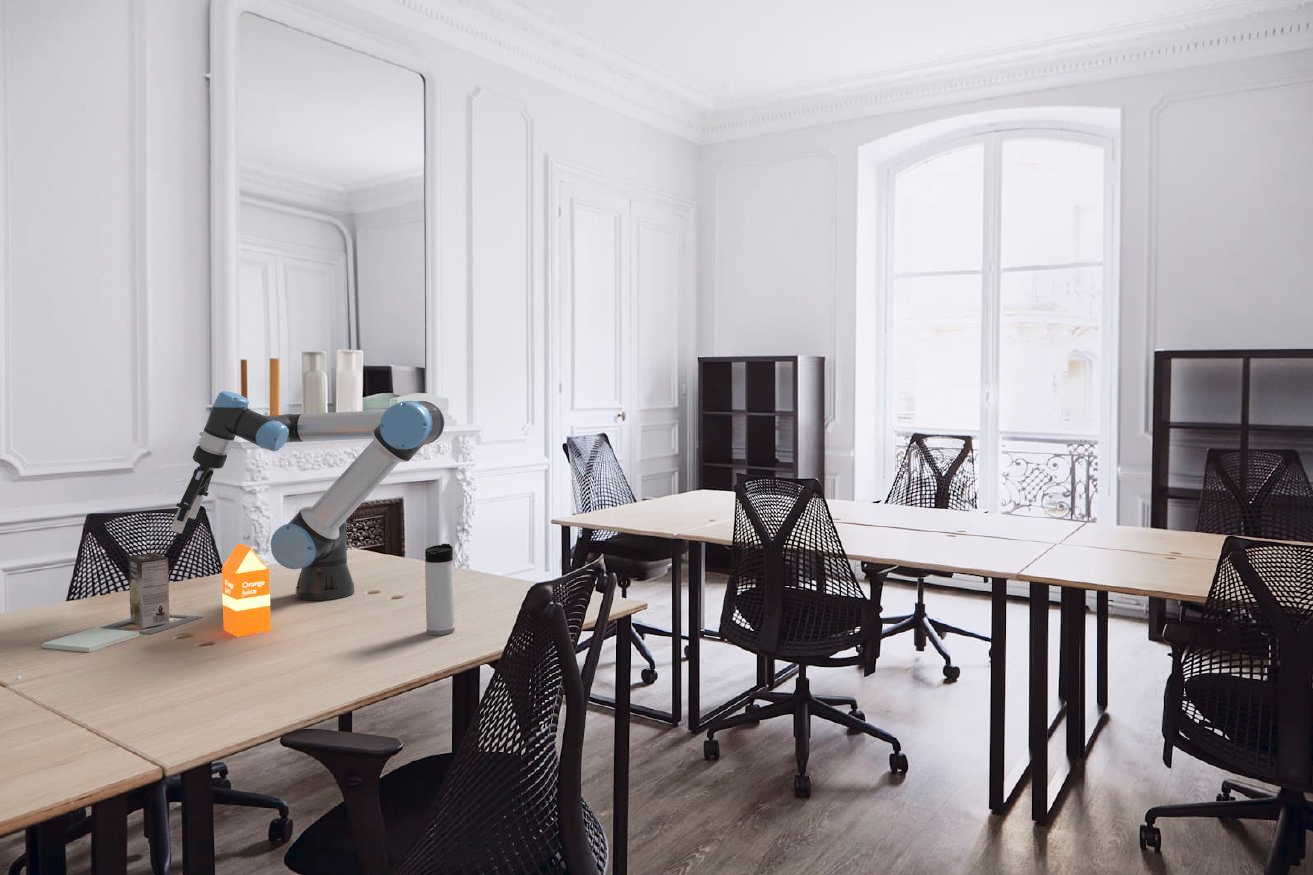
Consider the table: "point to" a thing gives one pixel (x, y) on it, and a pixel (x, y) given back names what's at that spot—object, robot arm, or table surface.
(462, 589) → the table surface
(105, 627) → the tile
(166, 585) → the coffee box
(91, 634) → the pad
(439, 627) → the travel mug
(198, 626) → the table surface
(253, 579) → the orange juice
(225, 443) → the robot arm
